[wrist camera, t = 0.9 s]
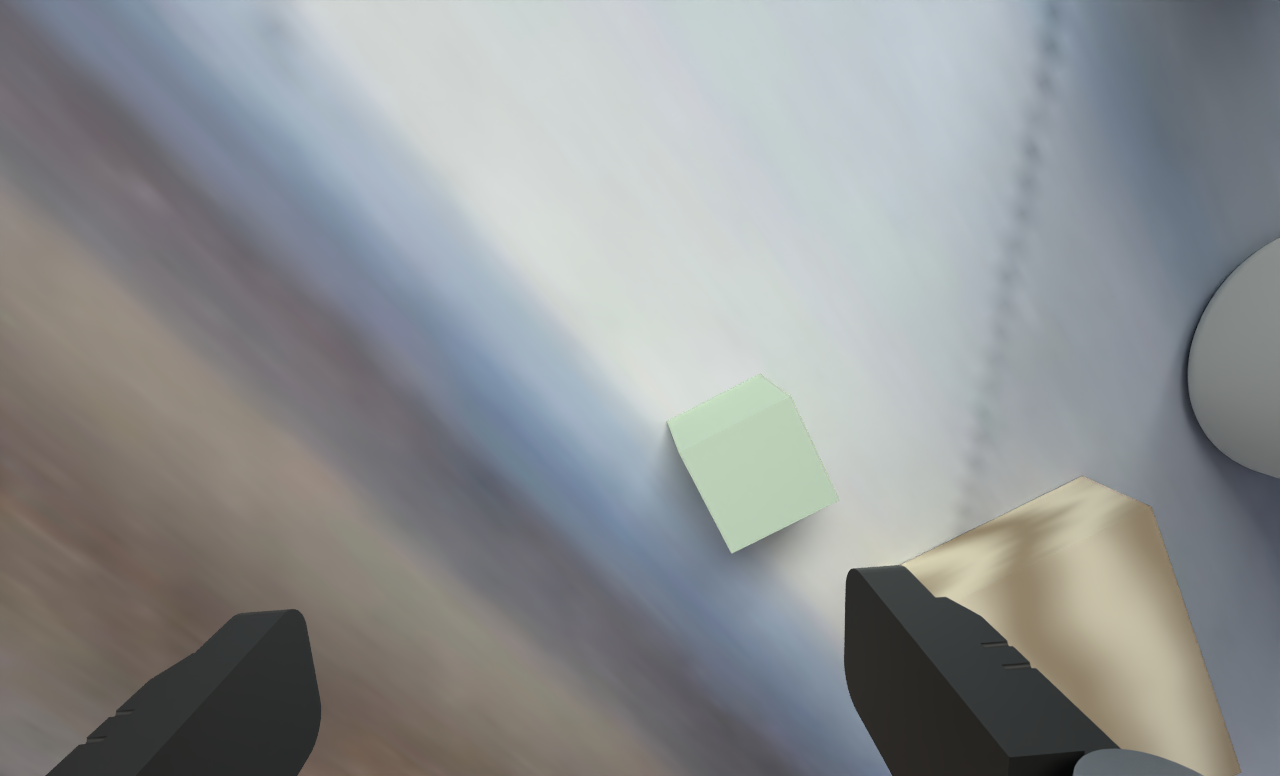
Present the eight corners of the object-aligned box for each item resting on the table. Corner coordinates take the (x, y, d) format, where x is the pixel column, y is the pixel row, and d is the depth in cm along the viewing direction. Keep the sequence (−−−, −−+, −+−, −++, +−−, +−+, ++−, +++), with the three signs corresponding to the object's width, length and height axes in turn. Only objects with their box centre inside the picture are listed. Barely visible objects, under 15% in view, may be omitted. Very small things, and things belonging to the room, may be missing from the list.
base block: (1082, 476, 31) (1151, 506, 27) (1169, 714, 34) (1241, 772, 30) (868, 580, 32) (906, 625, 28) (974, 804, 35) (1021, 873, 31)
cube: (759, 373, 29) (791, 396, 24) (801, 461, 30) (839, 500, 25) (666, 420, 29) (678, 452, 24) (711, 506, 30) (731, 553, 25)
